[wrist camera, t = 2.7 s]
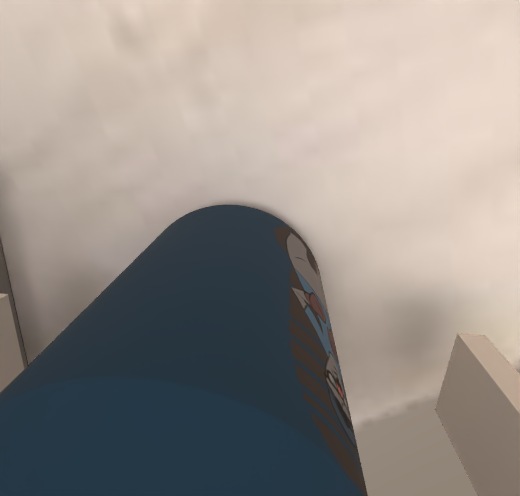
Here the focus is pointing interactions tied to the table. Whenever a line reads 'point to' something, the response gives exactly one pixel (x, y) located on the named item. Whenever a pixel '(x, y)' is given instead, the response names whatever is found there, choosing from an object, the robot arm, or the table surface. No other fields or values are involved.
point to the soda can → (190, 377)
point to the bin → (3, 286)
